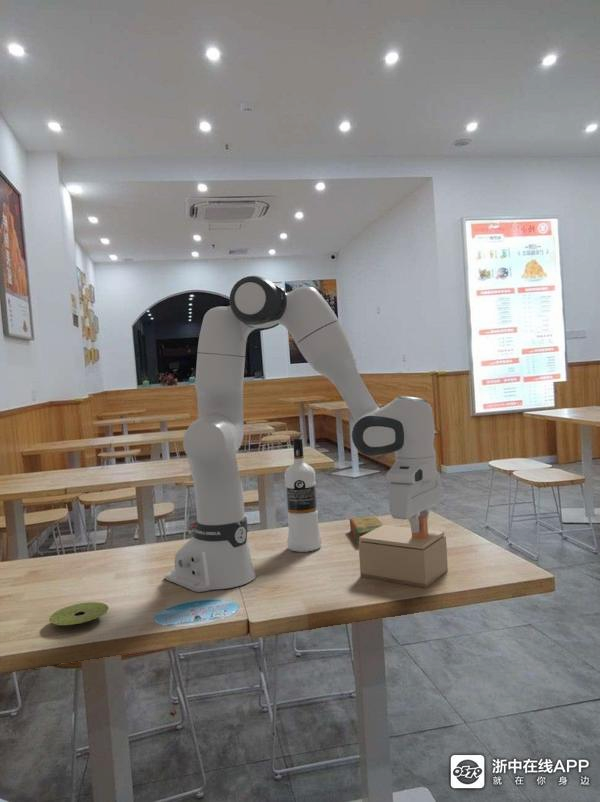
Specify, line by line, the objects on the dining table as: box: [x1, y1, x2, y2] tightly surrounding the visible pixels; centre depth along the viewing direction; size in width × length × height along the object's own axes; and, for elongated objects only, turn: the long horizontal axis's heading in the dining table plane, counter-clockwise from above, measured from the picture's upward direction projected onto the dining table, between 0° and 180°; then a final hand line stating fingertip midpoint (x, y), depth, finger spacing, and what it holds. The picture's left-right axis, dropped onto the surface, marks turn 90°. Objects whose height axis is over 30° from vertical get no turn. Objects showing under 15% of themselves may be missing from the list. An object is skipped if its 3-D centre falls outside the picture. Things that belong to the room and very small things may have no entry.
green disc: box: [48, 601, 109, 626], centre depth 118 cm, size 11×11×2 cm
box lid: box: [359, 516, 445, 549], centre depth 133 cm, size 16×12×5 cm
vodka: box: [283, 437, 323, 553], centre depth 158 cm, size 9×9×30 cm
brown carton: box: [358, 535, 449, 589], centre depth 134 cm, size 16×12×8 cm
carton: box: [349, 516, 384, 546], centre depth 165 cm, size 8×16×4 cm, turn 4°
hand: (419, 530), depth 131 cm, fingers closed on box lid
